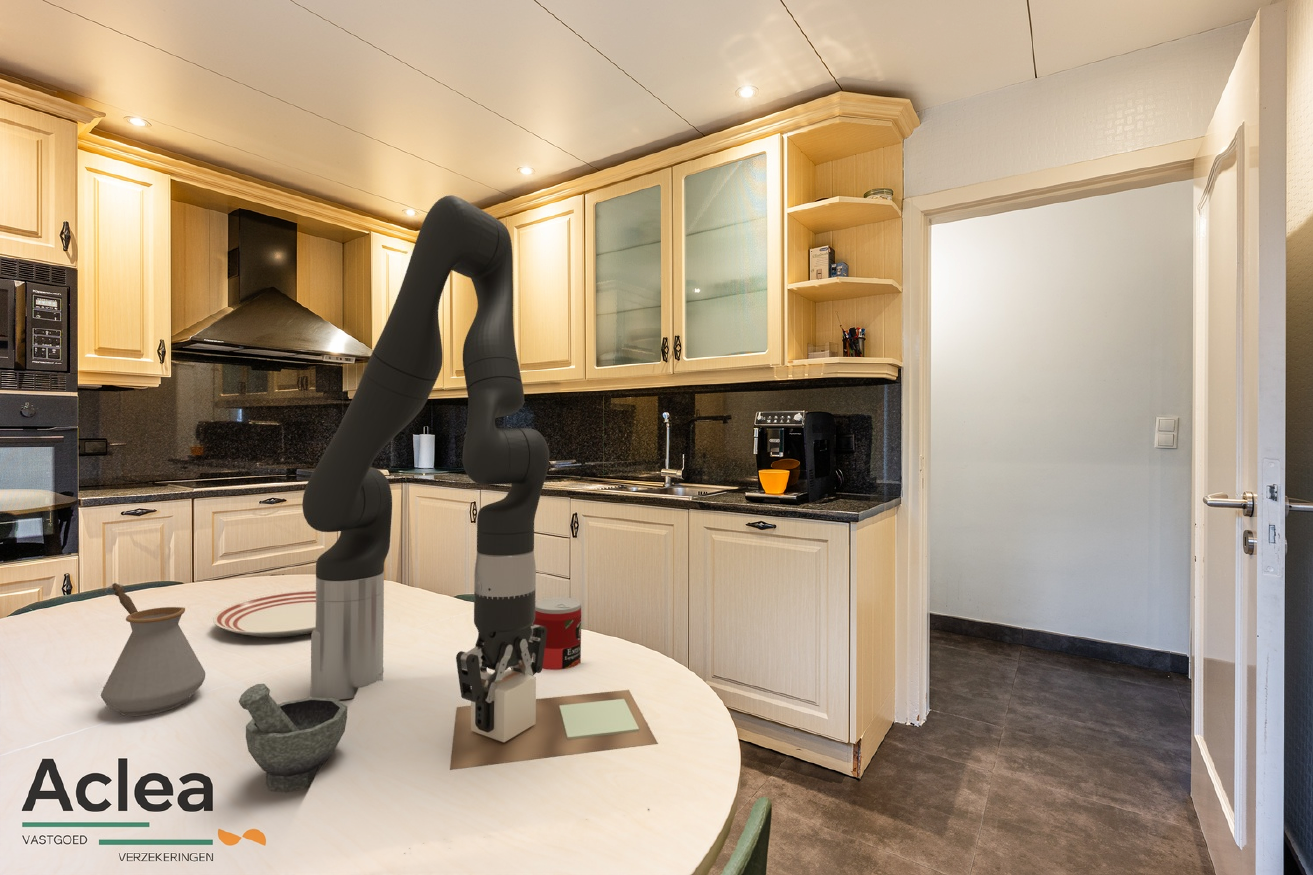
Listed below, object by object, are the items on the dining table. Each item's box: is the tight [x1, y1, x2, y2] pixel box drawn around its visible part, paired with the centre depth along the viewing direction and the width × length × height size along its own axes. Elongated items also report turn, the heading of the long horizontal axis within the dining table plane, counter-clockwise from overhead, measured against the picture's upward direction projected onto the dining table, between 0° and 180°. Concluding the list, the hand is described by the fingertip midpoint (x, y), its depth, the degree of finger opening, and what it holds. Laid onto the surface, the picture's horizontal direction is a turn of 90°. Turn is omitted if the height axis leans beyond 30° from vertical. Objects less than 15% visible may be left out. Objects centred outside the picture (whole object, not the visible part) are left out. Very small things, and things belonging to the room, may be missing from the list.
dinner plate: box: [212, 589, 316, 638], centre depth 125 cm, size 27×27×3 cm
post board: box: [449, 689, 659, 771], centre depth 80 cm, size 24×16×6 cm, turn 105°
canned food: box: [532, 596, 582, 671], centre depth 102 cm, size 8×8×11 cm
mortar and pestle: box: [238, 683, 348, 793], centre depth 69 cm, size 11×9×12 cm
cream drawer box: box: [470, 668, 537, 742], centre depth 78 cm, size 6×6×6 cm
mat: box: [559, 699, 639, 740], centre depth 81 cm, size 9×9×1 cm
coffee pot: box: [100, 582, 206, 717], centre depth 90 cm, size 21×12×15 cm, turn 58°
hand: (503, 719), depth 78 cm, fingers closed on cream drawer box, 5 cm apart
